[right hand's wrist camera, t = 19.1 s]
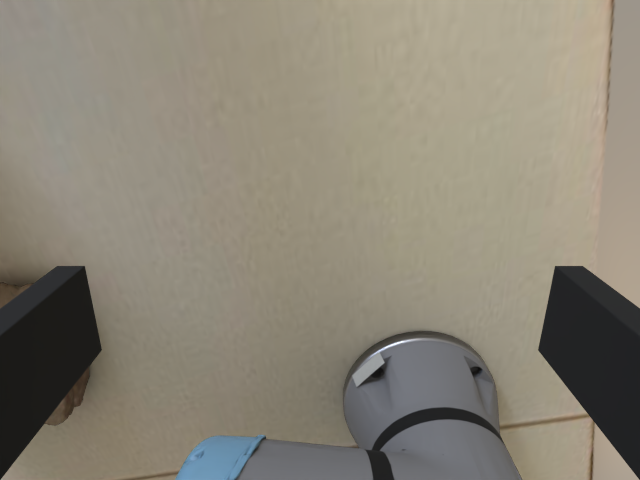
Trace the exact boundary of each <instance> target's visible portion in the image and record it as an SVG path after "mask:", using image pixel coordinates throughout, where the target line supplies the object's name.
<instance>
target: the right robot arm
mask: <svg viewBox="0 0 640 480" xmlns="http://www.w3.org/2000/svg"><path fill="white" fill-rule="evenodd" d="M101 350H102V349H101V344H100V339H99V334H98V329H97V324H96V319H95V314H94V309H93V304H92V300H91V295H90V290H89V285H88V280H87V275H86V270H85V266H57V267H55V268H54V269H53V270H51V271H50V272H49V273H47V274H46V275H45V276H43V277H42V278H41V279H39V280H38V281H37V282H35V283H34V284H33V285H31V286H30V287H29V288H27V289H26V290H25V291H23V292H22V293H20V294H19V295H18V296H16V297H15V298H14V299H12V300H11V301H10V302H8V303H7V304H6V305H4V306H3V307H2V308H0V480H1V478H2V477H3V476H4V474H5V473H6V472H7V471H8V469H9V468H10V467H11V465H12V464H13V463H14V462H15V460H16V459H17V458H18V456H19V455H20V454H21V453H22V451H23V450H24V449H25V448H26V446H27V445H28V444H29V442H30V441H31V440H32V439H33V437H34V436H35V435H36V433H37V432H38V431H39V430H40V428H41V427H42V426H43V425H44V423H45V422H46V421H47V419H48V418H49V417H50V416H51V414H52V413H53V412H54V410H55V409H56V408H57V407H58V405H59V404H60V403H61V402H62V400H63V399H64V398H65V396H66V395H67V394H68V393H69V391H70V390H71V389H72V387H73V386H74V385H75V384H76V382H77V381H78V380H79V378H80V377H81V376H82V375H83V373H84V372H85V371H86V370H87V368H88V367H89V366H90V364H91V363H92V362H93V361H94V359H95V358H96V357H97V355H98V354H99V353H100V352H101ZM538 350H539V352H540V353H541V354H542V355H543V357H544V358H545V359H546V361H547V362H548V363H549V364H550V366H551V367H552V368H553V370H554V371H555V372H556V373H557V375H558V376H559V377H560V378H561V380H562V381H563V382H564V384H565V385H566V386H567V387H568V389H569V390H570V391H571V393H572V394H573V395H574V396H575V398H576V399H577V400H578V402H579V403H580V404H581V405H582V407H583V408H584V409H585V410H586V412H587V413H588V414H589V416H590V417H591V418H592V419H593V421H594V422H595V423H596V425H597V426H598V427H599V428H600V430H601V431H602V432H603V433H604V435H605V436H606V437H607V439H608V440H609V441H610V442H611V444H612V445H613V446H614V447H615V449H616V450H617V451H618V453H619V454H620V455H621V456H622V458H623V459H624V460H625V462H626V463H627V464H628V465H629V467H630V468H631V469H632V471H633V472H634V473H635V474H636V476H637V477H638V478H639V480H640V308H638V307H637V306H636V305H634V304H633V303H632V302H630V301H629V300H627V299H626V298H625V297H624V296H622V295H621V294H619V293H618V292H617V291H615V290H614V289H613V288H611V287H610V286H609V285H607V284H606V283H605V282H603V281H602V280H601V279H599V278H598V277H597V276H595V275H594V274H593V273H591V272H590V271H589V270H587V269H586V268H585V267H583V266H555V270H554V275H553V280H552V285H551V290H550V295H549V300H548V304H547V309H546V314H545V319H544V324H543V329H542V334H541V339H540V344H539V349H538ZM343 404H344V414H345V419H346V422H347V425H348V428H349V430H350V432H351V434H352V436H353V438H354V440H355V441H356V443H357V445H358V447H359V448H350V447H340V446H330V445H320V444H310V443H300V442H290V441H280V440H270V439H266V436H265V435H258V436H257V437H240V436H213V437H210V438H207V439H205V440H204V441H202V442H201V443H199V444H198V445H197V446H196V447H195V448H194V449H193V451H192V452H191V453H190V454H189V456H188V457H187V459H186V460H185V462H184V464H183V466H182V467H181V469H180V471H179V473H178V475H177V477H176V479H175V480H522V478H521V476H520V474H519V472H518V470H517V468H516V466H515V464H514V462H513V460H512V458H511V456H510V454H509V452H508V450H507V448H506V446H505V444H504V442H503V440H502V438H501V436H500V428H499V414H498V400H497V391H496V387H495V383H494V380H493V377H492V375H491V373H490V371H489V370H488V368H487V366H486V364H485V363H484V361H483V359H482V358H481V357H480V355H479V354H478V353H477V352H476V351H475V350H474V349H473V348H472V347H470V346H469V345H468V344H466V343H465V342H463V341H461V340H459V339H457V338H455V337H452V336H449V335H446V334H442V333H437V332H429V331H417V332H408V333H403V334H399V335H395V336H392V337H390V338H387V339H385V340H383V341H381V342H379V343H377V344H375V345H374V346H372V347H371V348H369V349H368V350H367V351H366V352H365V353H363V354H362V355H361V356H360V357H359V358H358V360H357V361H356V362H355V363H354V365H353V366H352V368H351V369H350V371H349V373H348V375H347V378H346V381H345V384H344V389H343Z"/></svg>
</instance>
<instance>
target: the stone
mask: <svg viewBox="0 0 640 480" xmlns="http://www.w3.org/2000/svg"><path fill="white" fill-rule="evenodd" d="M33 284H34V283H33ZM33 284H26V285H24V286H22V287H19V286H15V285H8V284H5V283H0V308H2V307H3V306H4V305H6V304H7V303H8V302H10V301H11V300H12V299H14V298H15V297H16V296H18V295H19V294H20V293H22V292H23V291H25V290H26V289H27V288H29V287H30V286H31V285H33ZM88 379H89V367H88V368H87V370H86V371H85V372H84V373H83V375H82V376H81V377H80V378H79V380H78V381H77V382H76V384H75V385H74V386H73V387H72V389H71V390H70V391H69V393H68V394H67V395H66V396H65V398H64V399H63V400H62V402H61V403H60V404H59V405H58V407H57V408H56V409H55V410H54V412H53V413H52V414H51V416H50V417H49V418H48V419H47V421H46V422H45V423H44V424H48V425H58V424H60V423H62V422H64V421H65V420H66V419H67V418H68V416H69V415H71V413H72V411H73V408H74V407H77V406H80V404H81V402H82V401H83V395H84V392H85V388H86V385H87V382H88Z"/></svg>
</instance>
